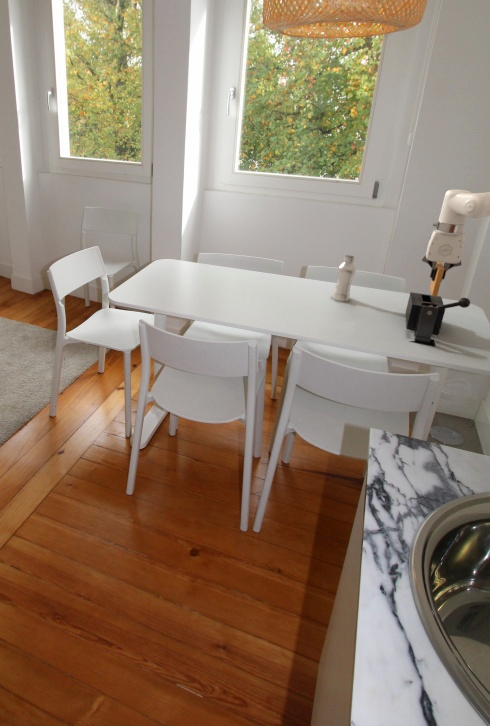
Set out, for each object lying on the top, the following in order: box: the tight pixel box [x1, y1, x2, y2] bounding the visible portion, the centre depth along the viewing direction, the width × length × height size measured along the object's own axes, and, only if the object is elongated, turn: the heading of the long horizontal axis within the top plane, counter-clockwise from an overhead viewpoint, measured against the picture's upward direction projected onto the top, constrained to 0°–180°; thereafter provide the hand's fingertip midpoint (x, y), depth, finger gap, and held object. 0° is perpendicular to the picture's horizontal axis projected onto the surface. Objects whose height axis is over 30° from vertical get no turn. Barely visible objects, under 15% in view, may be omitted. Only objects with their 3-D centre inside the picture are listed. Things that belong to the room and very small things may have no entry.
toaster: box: [404, 292, 446, 336], centre depth 168 cm, size 10×14×11 cm
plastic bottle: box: [332, 254, 356, 302], centre depth 188 cm, size 6×7×20 cm
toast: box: [429, 262, 444, 297], centre depth 162 cm, size 2×10×10 cm, turn 154°
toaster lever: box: [428, 297, 471, 310], centre depth 152 cm, size 13×3×3 cm, turn 65°
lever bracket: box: [408, 301, 438, 348], centre depth 156 cm, size 8×8×14 cm
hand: (436, 280), depth 162 cm, fingers closed on toast, 1 cm apart
